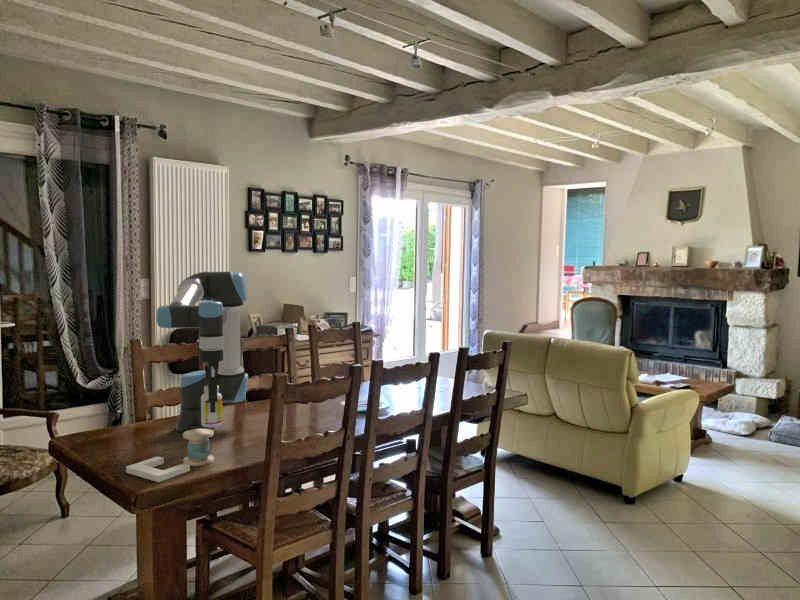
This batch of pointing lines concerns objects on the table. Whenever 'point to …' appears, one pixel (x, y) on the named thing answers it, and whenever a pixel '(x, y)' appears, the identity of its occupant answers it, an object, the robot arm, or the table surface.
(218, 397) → the supplement bottle
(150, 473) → the notched board
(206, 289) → the robot arm
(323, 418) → the table surface
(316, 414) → the table surface
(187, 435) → the bobbin
